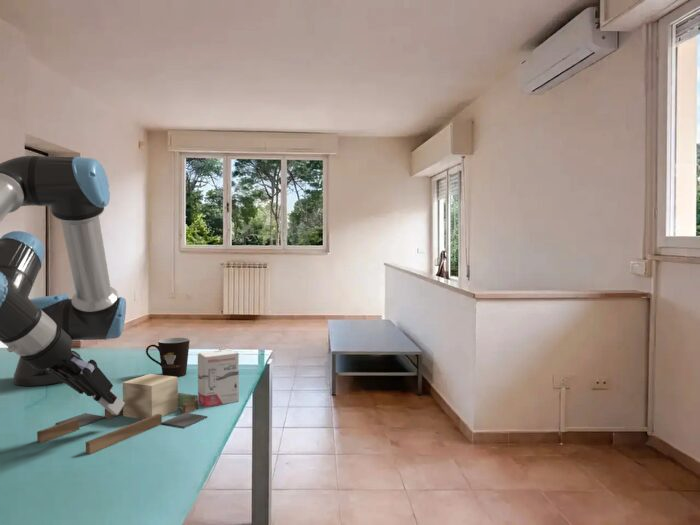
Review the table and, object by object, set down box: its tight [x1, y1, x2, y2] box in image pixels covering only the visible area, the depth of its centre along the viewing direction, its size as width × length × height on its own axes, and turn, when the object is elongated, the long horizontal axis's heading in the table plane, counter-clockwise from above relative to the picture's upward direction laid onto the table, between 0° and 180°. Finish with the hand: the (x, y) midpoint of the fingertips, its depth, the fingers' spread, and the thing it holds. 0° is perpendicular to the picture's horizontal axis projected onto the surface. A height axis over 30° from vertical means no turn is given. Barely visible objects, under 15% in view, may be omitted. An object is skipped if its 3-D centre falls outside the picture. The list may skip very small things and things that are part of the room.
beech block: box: [122, 373, 179, 420], centre depth 113 cm, size 8×8×8 cm
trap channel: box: [36, 392, 208, 455], centre depth 106 cm, size 26×28×3 cm
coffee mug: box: [145, 337, 191, 378], centre depth 148 cm, size 12×9×10 cm
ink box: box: [197, 348, 240, 408], centre depth 121 cm, size 9×5×12 cm, turn 124°
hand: (118, 408), depth 104 cm, fingers closed
